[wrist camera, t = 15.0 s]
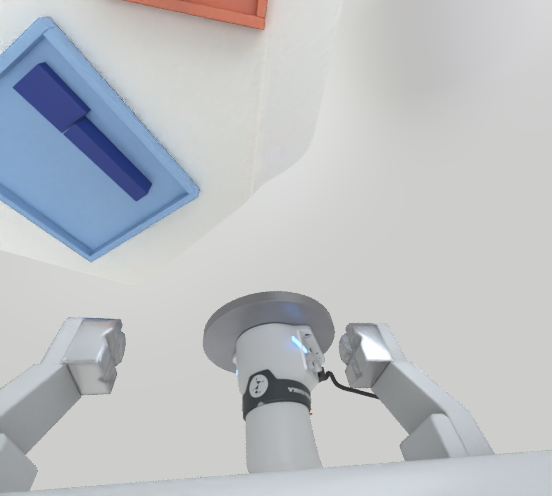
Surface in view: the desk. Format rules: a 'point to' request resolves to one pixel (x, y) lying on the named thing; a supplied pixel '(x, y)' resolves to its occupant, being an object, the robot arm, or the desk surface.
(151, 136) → the blue tray
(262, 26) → the red tray
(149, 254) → the desk surface
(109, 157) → the navy stepped bar
